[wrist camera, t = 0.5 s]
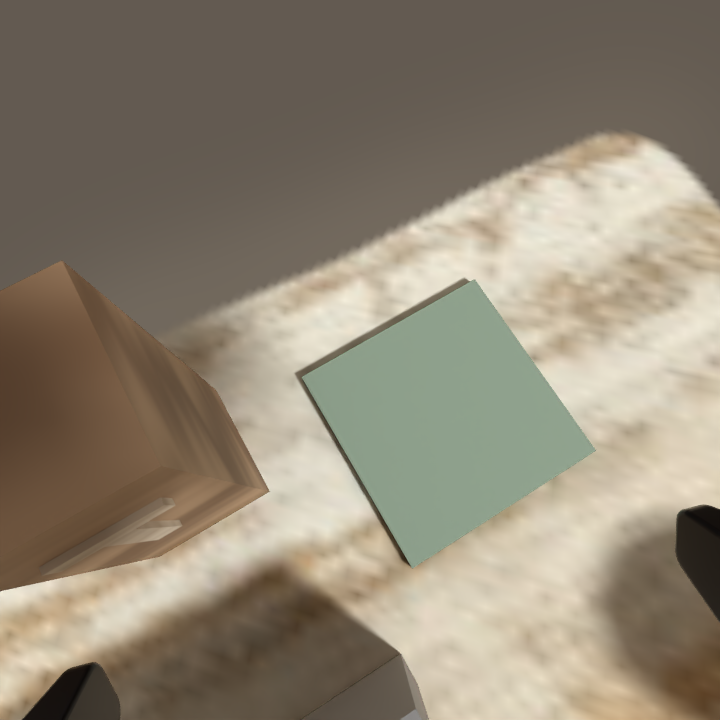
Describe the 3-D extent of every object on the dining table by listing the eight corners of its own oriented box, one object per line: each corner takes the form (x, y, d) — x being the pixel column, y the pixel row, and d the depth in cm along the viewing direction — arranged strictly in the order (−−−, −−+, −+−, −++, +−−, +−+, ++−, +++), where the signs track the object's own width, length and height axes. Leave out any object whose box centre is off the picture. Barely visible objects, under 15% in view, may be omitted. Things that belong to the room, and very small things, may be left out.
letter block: (271, 495, 22) (165, 475, 10) (162, 561, 21) (-94, 622, 9) (215, 390, 23) (62, 260, 11) (110, 448, 23) (-174, 376, 11)
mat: (592, 451, 23) (595, 450, 22) (411, 567, 21) (412, 568, 21) (472, 282, 25) (474, 279, 24) (302, 379, 23) (301, 376, 23)
